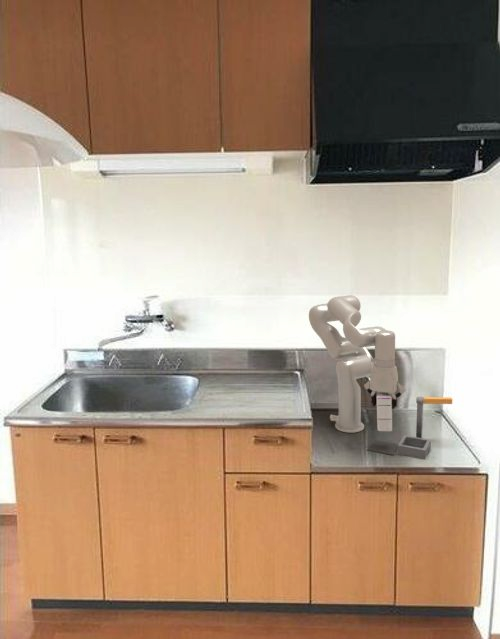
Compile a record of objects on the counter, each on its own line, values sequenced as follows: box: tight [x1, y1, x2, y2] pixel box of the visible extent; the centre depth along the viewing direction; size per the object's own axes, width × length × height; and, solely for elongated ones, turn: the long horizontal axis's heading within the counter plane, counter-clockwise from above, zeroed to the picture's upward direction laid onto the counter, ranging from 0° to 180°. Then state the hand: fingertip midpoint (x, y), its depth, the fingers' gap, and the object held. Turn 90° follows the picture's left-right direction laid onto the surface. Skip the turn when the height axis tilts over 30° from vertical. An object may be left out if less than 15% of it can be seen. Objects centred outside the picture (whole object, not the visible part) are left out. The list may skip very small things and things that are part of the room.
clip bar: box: [415, 396, 453, 405], centre depth 198 cm, size 3×14×2 cm, turn 83°
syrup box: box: [376, 391, 393, 432], centre depth 195 cm, size 6×6×14 cm
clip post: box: [415, 403, 424, 438], centre depth 200 cm, size 6×5×16 cm
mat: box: [366, 439, 399, 456], centre depth 198 cm, size 10×10×1 cm
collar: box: [397, 434, 432, 460], centre depth 194 cm, size 10×10×4 cm
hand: (384, 406), depth 194 cm, fingers closed on syrup box, 6 cm apart
